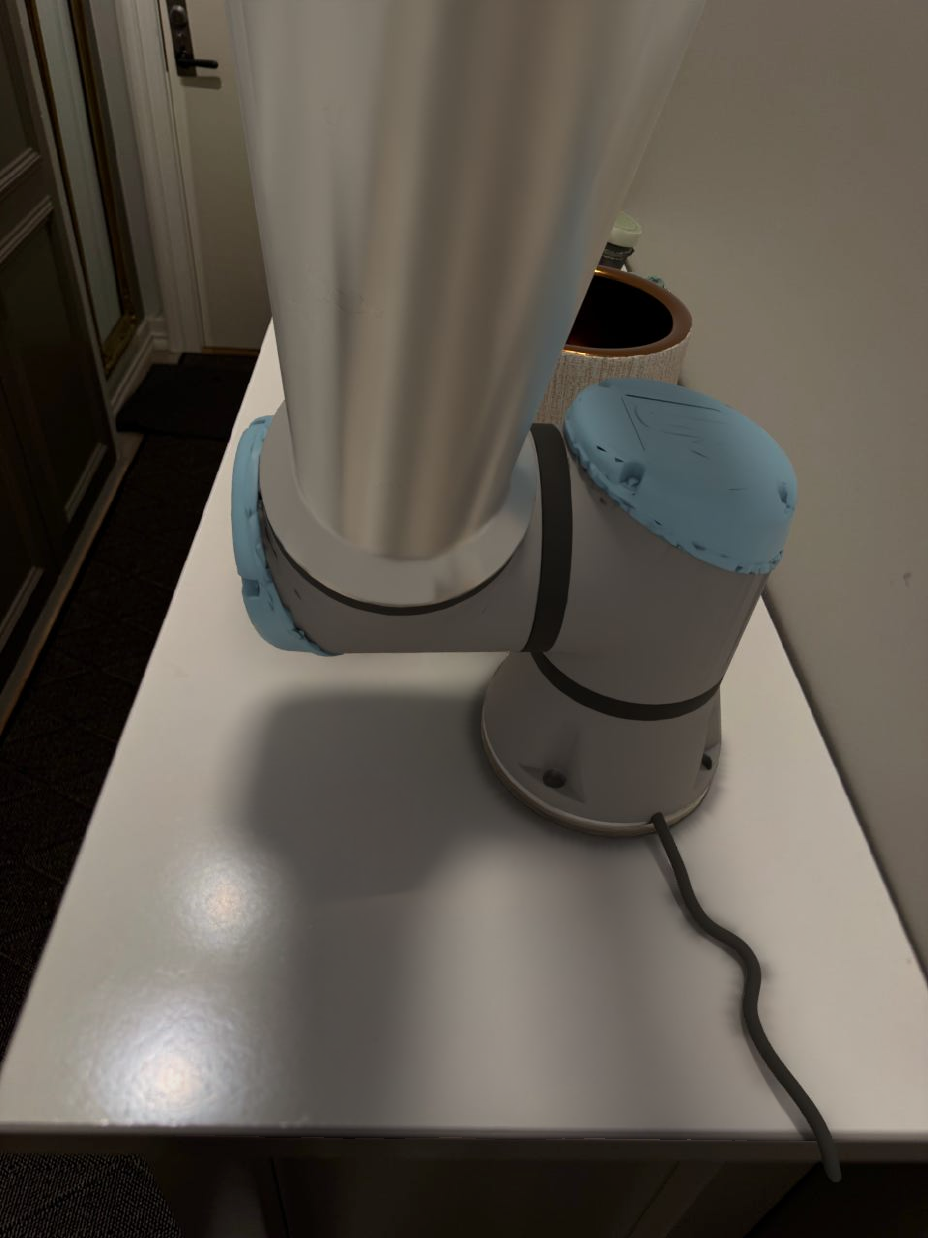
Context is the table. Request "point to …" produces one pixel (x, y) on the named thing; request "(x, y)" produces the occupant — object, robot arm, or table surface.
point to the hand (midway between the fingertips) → (388, 300)
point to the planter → (618, 339)
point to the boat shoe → (621, 242)
